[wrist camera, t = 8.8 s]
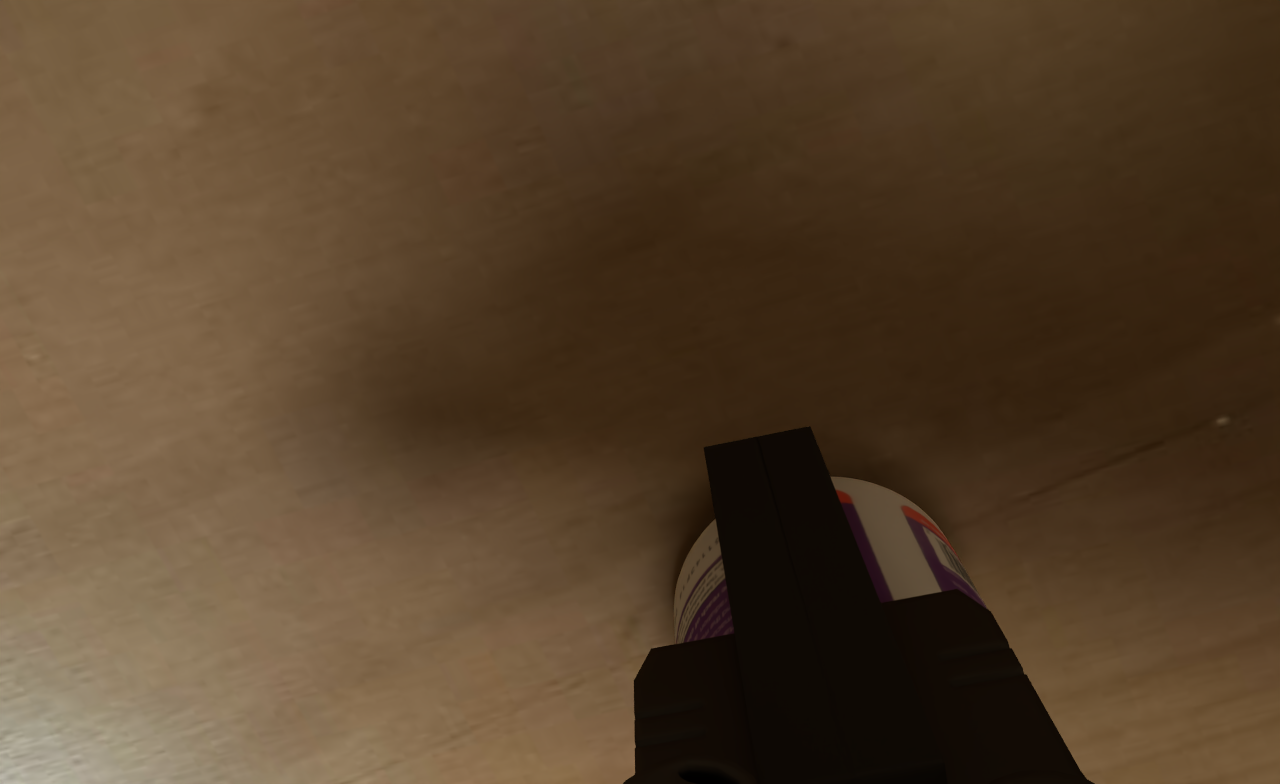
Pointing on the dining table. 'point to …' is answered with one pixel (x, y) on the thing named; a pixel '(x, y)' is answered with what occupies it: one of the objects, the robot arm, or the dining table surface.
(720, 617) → the pill bottle
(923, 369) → the dining table surface
